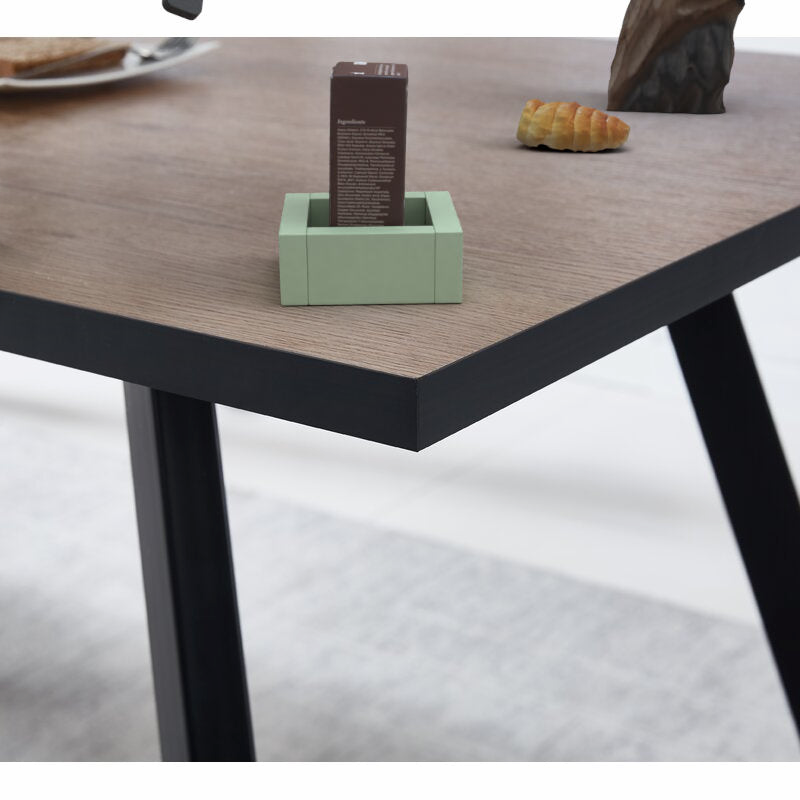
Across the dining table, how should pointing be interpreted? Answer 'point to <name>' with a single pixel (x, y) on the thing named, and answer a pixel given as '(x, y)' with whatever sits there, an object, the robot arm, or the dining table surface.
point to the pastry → (570, 127)
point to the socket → (370, 254)
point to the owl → (674, 56)
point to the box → (367, 144)
